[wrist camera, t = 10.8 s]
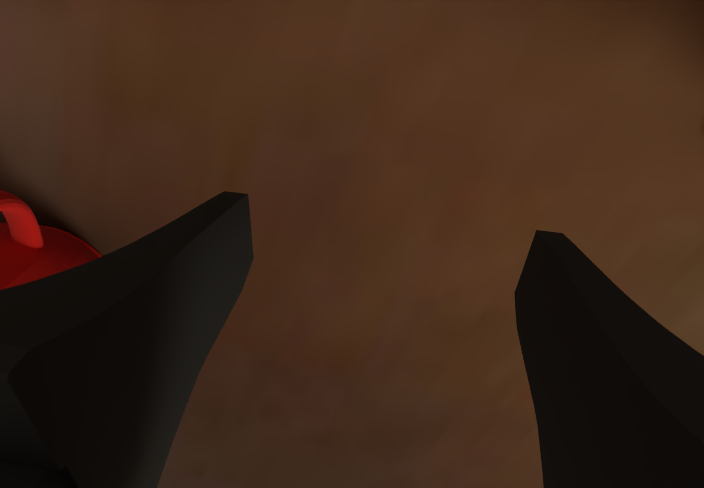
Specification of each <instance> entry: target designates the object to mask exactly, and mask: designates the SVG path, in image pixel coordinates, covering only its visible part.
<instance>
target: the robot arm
mask: <svg viewBox="0 0 704 488" xmlns="http://www.w3.org/2000/svg"><path fill="white" fill-rule="evenodd" d="M252 261H253V247H252V235H251V223H250V211H249V199H248V194H242V193H234V192H226V191H225V192H223V193H221V194H219V195H217V196H215V197H213V198H211V199H210V200H208V201H206V202H205V203H203V204H201V205H200V206H198V207H196V208H194V209H193V210H191V211H189V212H188V213H186V214H184V215H183V216H181V217H179V218H177V219H176V220H174V221H172V222H171V223H169V224H167V225H165V226H163V227H162V228H160V229H158V230H156V231H154V232H152V233H150V234H148V235H146V236H144V237H142V238H141V239H139V240H137V241H135V242H133V243H131V244H129V245H127V246H125V247H123V248H120V249H118V250H116V251H114V252H112V253H109V254H107V255H104V256H102V257H100V258H97V259H95V260H92V261H90V262H87V263H85V264H82V265H79V266H76V267H73V268H70V269H68V270H65V271H62V272H59V273H56V274H53V275H50V276H47V277H44V278H41V279H38V280H35V281H31V282H28V283H24V284H21V285H17V286H14V287H10V288H6V289H2V290H0V488H157V486H158V483H159V480H160V477H161V474H162V471H163V468H164V465H165V462H166V459H167V456H168V453H169V450H170V448H171V445H172V442H173V439H174V436H175V434H176V431H177V428H178V426H179V423H180V420H181V418H182V415H183V412H184V409H185V407H186V404H187V402H188V399H189V397H190V394H191V392H192V389H193V387H194V384H195V382H196V379H197V377H198V374H199V372H200V370H201V367H202V365H203V363H204V361H205V359H206V357H207V355H208V353H209V351H210V349H211V348H212V346H213V344H214V342H215V340H216V338H217V336H218V334H219V333H220V331H221V329H222V327H223V325H224V323H225V321H226V320H227V318H228V316H229V314H230V312H231V310H232V308H233V306H234V304H235V302H236V301H237V299H238V297H239V295H240V293H241V291H242V289H243V286H244V283H245V281H246V278H247V275H248V272H249V269H250V266H251V263H252ZM515 309H516V322H517V330H518V335H519V340H520V345H521V349H522V354H523V359H524V363H525V367H526V372H527V376H528V381H529V385H530V390H531V394H532V399H533V403H534V407H535V413H536V419H537V425H538V433H539V442H540V452H541V461H542V472H543V483H544V488H704V356H703V355H701V354H700V353H699V352H697V351H696V350H694V349H693V348H691V347H690V346H689V345H687V344H686V343H685V342H683V341H682V340H681V339H679V338H678V337H677V336H675V335H674V334H673V333H671V332H670V331H669V330H667V329H666V328H665V327H663V326H662V325H661V324H660V323H658V322H657V321H656V320H655V319H653V318H652V317H651V316H650V315H649V314H648V313H646V312H645V311H644V310H643V309H642V308H641V307H639V306H638V305H637V304H636V303H635V302H634V301H632V300H631V299H630V298H629V297H628V296H627V295H626V294H625V293H624V292H623V291H621V290H620V289H619V288H618V287H617V286H616V285H615V284H614V283H613V282H612V281H611V280H610V279H609V278H608V277H607V276H606V275H605V274H604V273H603V272H602V271H601V270H600V269H599V268H598V267H597V266H596V265H595V264H594V263H593V262H592V261H591V260H590V259H589V258H588V257H587V256H586V255H585V254H584V253H583V252H582V251H581V250H580V249H579V248H578V247H577V246H576V245H575V244H574V243H572V242H571V241H570V240H569V239H568V238H567V237H566V236H565V235H564V234H563V233H555V232H547V231H539V230H536V233H535V236H534V239H533V242H532V245H531V247H530V250H529V253H528V256H527V259H526V262H525V265H524V268H523V271H522V273H521V276H520V279H519V282H518V285H517V288H516V291H515Z"/></svg>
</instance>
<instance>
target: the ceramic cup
mask: <svg viewBox="0 0 704 488" xmlns="http://www.w3.org/2000/svg"><path fill="white" fill-rule="evenodd" d="M0 211H2V213H3V214H4V216H5V218H6V220H7V223H0V290H2V289H6V288H10V287H14V286H17V285H21V284H24V283H28V282H31V281H35V280H38V279H41V278H44V277H47V276H50V275H53V274H56V273H59V272H62V271H65V270H68V269H70V268H73V267H76V266H79V265H82V264H85V263H87V262H90V261H92V260H95V259H97V258H100V257H102V256H101V255H100V254H99V253H98V252H97V251H96V250H95V249H93V248H92V247H91V246H90V245H88V244H87V243H86V242H84V241H83V240H81V239H80V238H78V237H76V236H74V235H72V234H70V233H68V232H65V231H63V230H60V229H57V228H53V227H48V226H40V225H38V223H37V220H36V218H35V216H34V214H33V212H32V210H31V209H30V207H29V206H28V205H27V204H26V203H25V202H24V201H22V200H21V199H20V198H18V197H16V196H15V195H13V194H11V193H8V192H5V191H3V190H0Z"/></svg>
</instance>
